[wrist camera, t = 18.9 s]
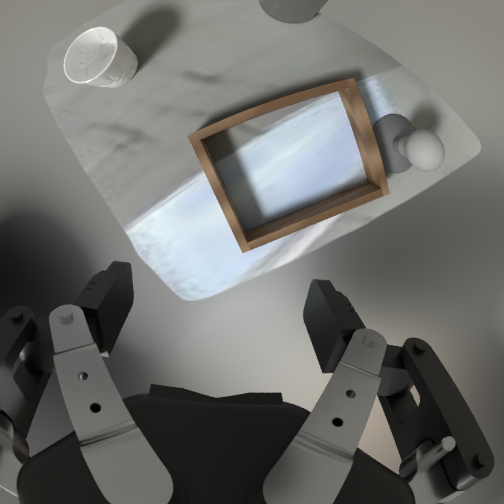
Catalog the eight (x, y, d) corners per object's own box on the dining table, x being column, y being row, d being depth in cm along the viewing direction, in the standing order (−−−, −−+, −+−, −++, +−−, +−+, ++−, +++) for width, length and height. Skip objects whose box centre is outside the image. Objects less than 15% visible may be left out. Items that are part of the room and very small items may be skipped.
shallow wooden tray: (192, 135, 36) (187, 135, 32) (342, 82, 34) (354, 77, 30) (241, 241, 43) (242, 253, 39) (375, 187, 41) (389, 193, 37)
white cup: (152, 64, 31) (129, 45, 22) (114, 101, 32) (83, 94, 23) (123, 37, 28) (96, 17, 19) (88, 73, 30) (54, 63, 20)
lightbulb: (385, 166, 39) (425, 179, 29) (377, 130, 37) (418, 133, 27) (412, 158, 39) (454, 170, 29) (406, 124, 36) (449, 128, 26)
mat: (362, 122, 36) (363, 122, 36) (408, 109, 36) (410, 109, 35) (379, 179, 41) (380, 180, 40) (422, 163, 40) (423, 164, 39)
